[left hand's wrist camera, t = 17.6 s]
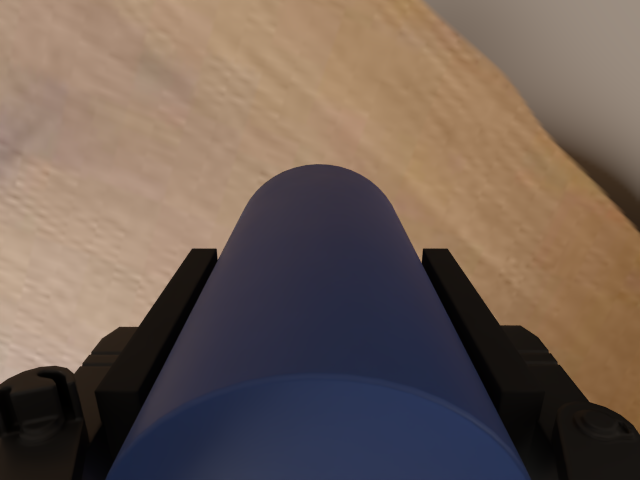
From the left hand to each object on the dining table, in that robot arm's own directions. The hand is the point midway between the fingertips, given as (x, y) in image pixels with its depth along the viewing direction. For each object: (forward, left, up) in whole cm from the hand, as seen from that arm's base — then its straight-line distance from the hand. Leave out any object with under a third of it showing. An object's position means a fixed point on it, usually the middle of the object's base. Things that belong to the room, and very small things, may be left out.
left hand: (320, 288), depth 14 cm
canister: (0, 0, -4) cm, 4 cm away
